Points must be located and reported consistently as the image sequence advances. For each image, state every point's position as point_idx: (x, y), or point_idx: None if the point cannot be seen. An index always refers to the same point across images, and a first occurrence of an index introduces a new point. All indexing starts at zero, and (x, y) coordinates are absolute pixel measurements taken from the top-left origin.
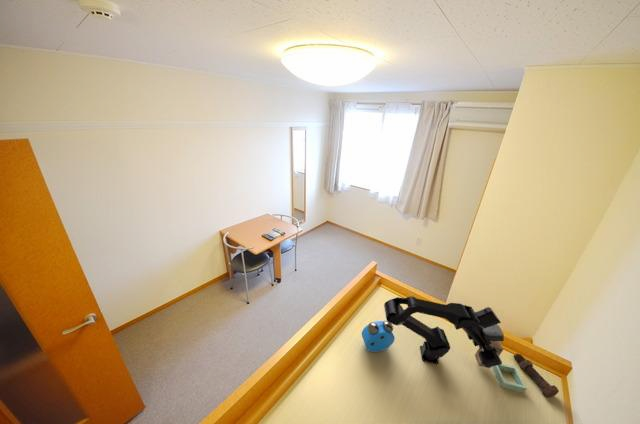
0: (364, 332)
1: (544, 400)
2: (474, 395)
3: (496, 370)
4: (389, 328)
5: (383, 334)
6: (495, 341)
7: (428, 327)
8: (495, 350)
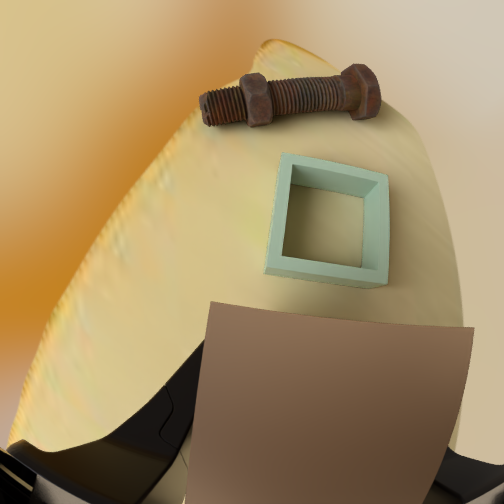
0: None
1: (378, 132)
2: None
3: (309, 276)
4: None
5: None
6: (311, 432)
7: None
8: (486, 491)
